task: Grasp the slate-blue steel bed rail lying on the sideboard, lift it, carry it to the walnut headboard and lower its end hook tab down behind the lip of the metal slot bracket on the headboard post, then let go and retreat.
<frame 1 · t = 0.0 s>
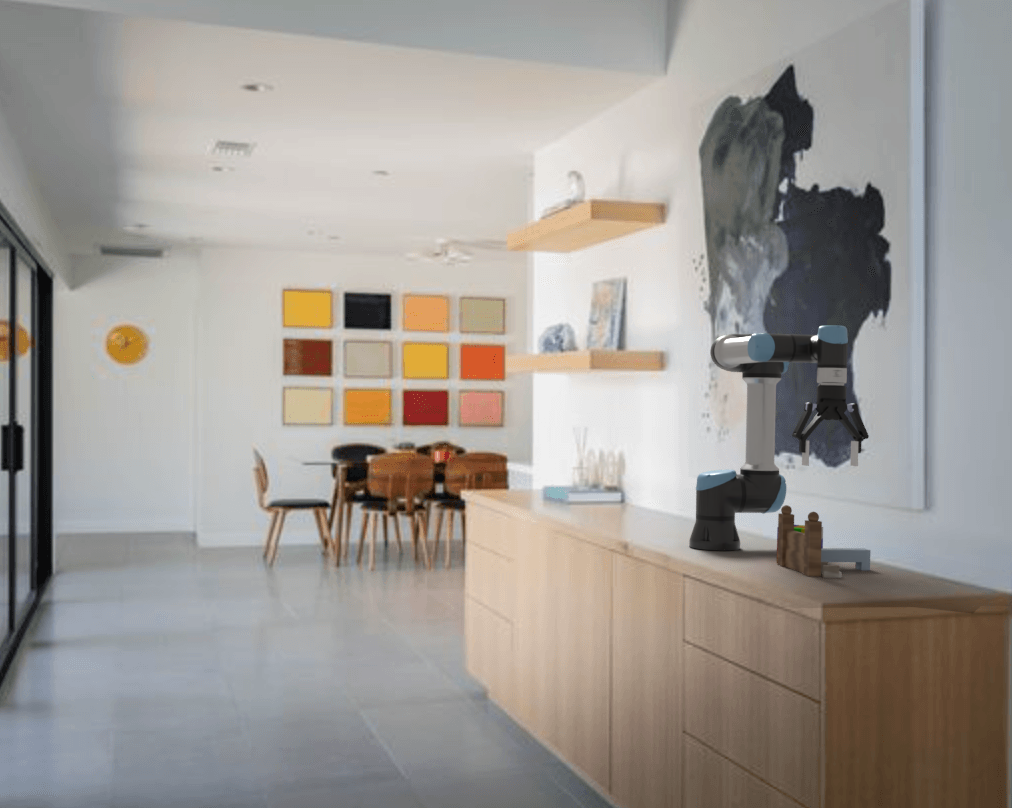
hand: (829, 465, 305), 28 cm above the sideboard top, fingers open, 13 cm apart
toy: (799, 563, 323), on the sideboard top
headboard: (825, 575, 300), on the sideboard top
rail: (838, 569, 312), on the sideboard top
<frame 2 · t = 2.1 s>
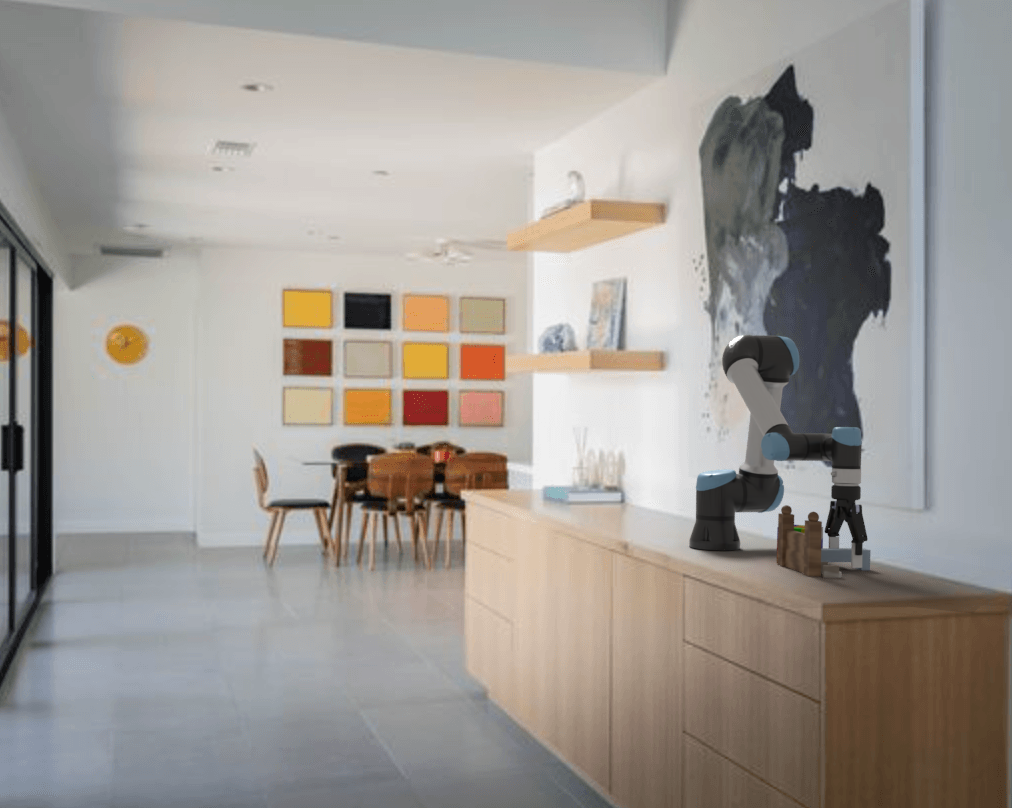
hand: (844, 564, 312), 1 cm above the sideboard top, fingers open, 13 cm apart
nothing on the sideboard top moved.
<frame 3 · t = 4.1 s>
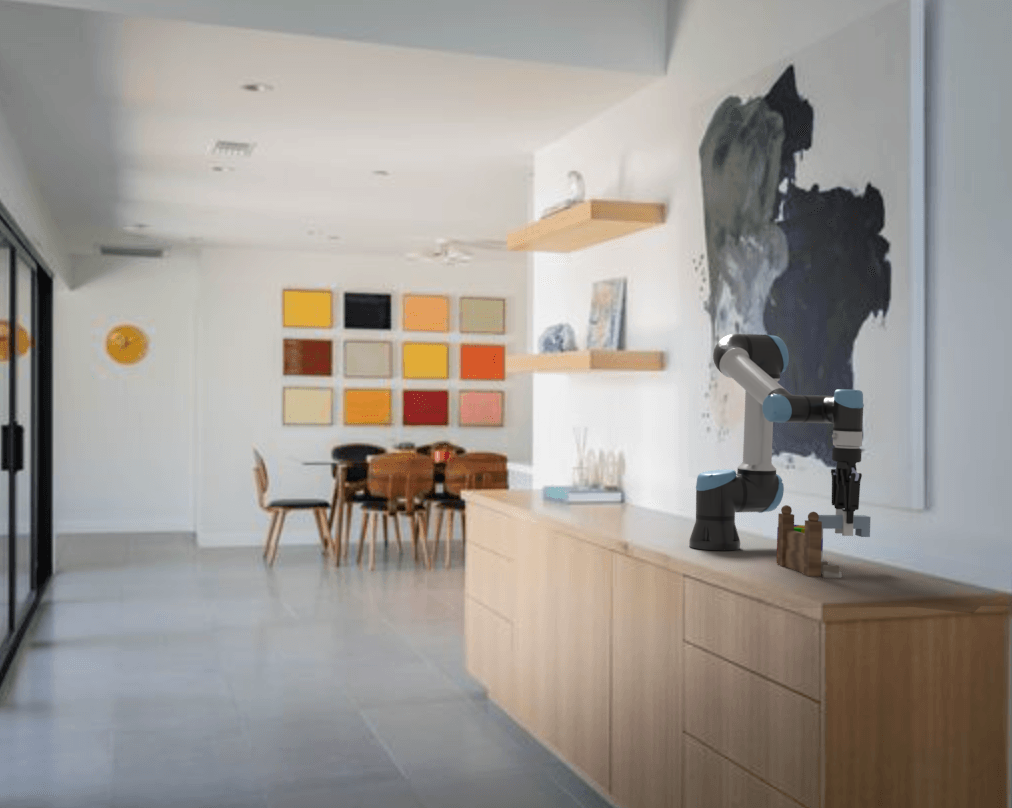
hand: (843, 534, 312), 9 cm above the sideboard top, fingers closed on rail, 4 cm apart
rail: (838, 535, 312), point 9 cm above the sideboard top, touching gripper
everything else where it was.
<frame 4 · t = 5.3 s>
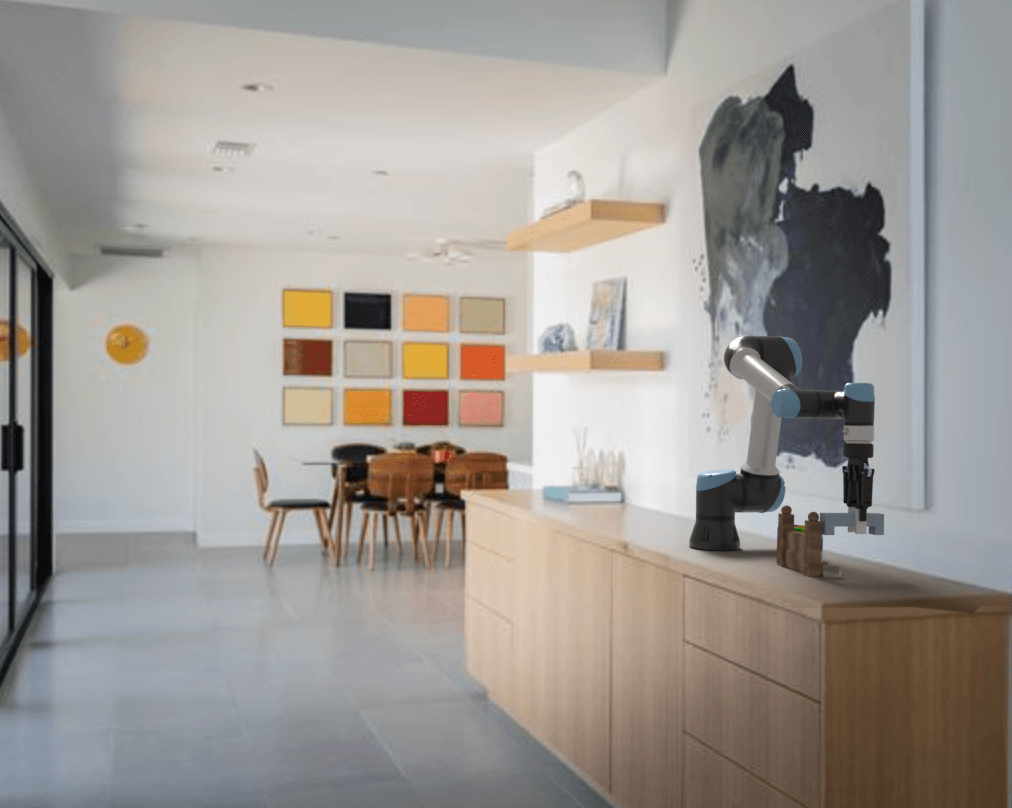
hand: (856, 532, 301), 11 cm above the sideboard top, fingers closed on rail, 4 cm apart
rail: (851, 534, 301), point 11 cm above the sideboard top, touching gripper
everything else where it was.
when the fingers open (0 cm above the sideboard top, at t = 6.9 s): rail stays where it is, on the sideboard top.
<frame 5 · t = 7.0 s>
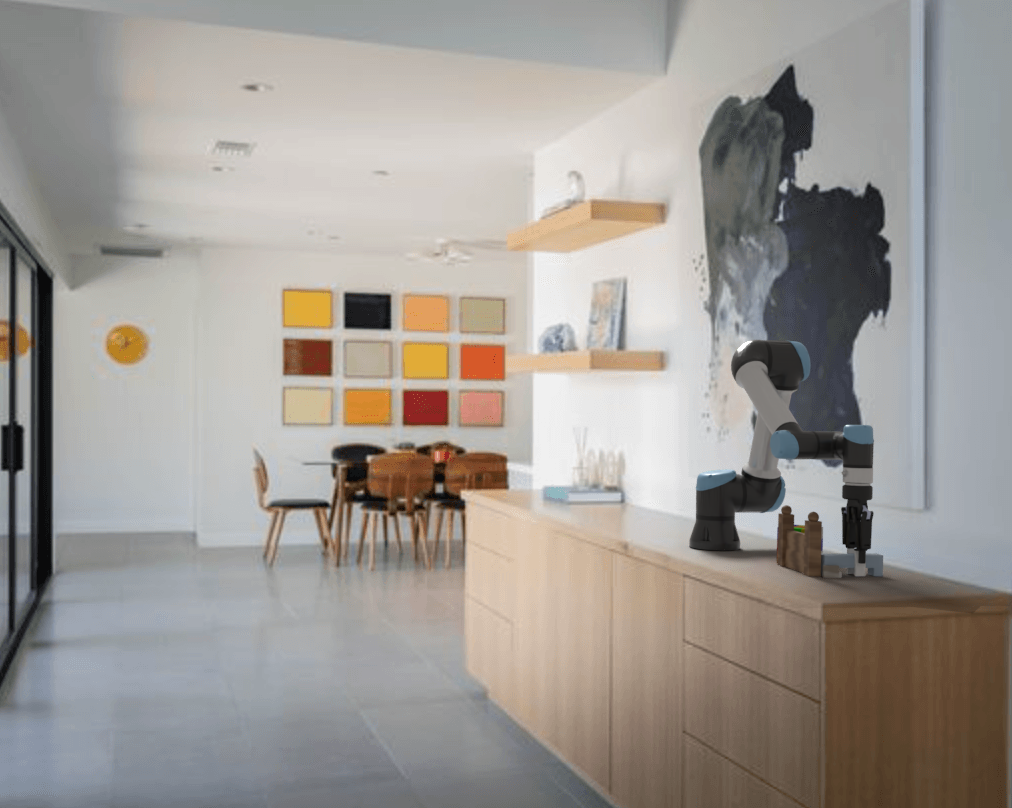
hand: (855, 574, 301), 0 cm above the sideboard top, fingers open, 4 cm apart
rail: (850, 575, 301), on the sideboard top, touching gripper
everything else where it was.
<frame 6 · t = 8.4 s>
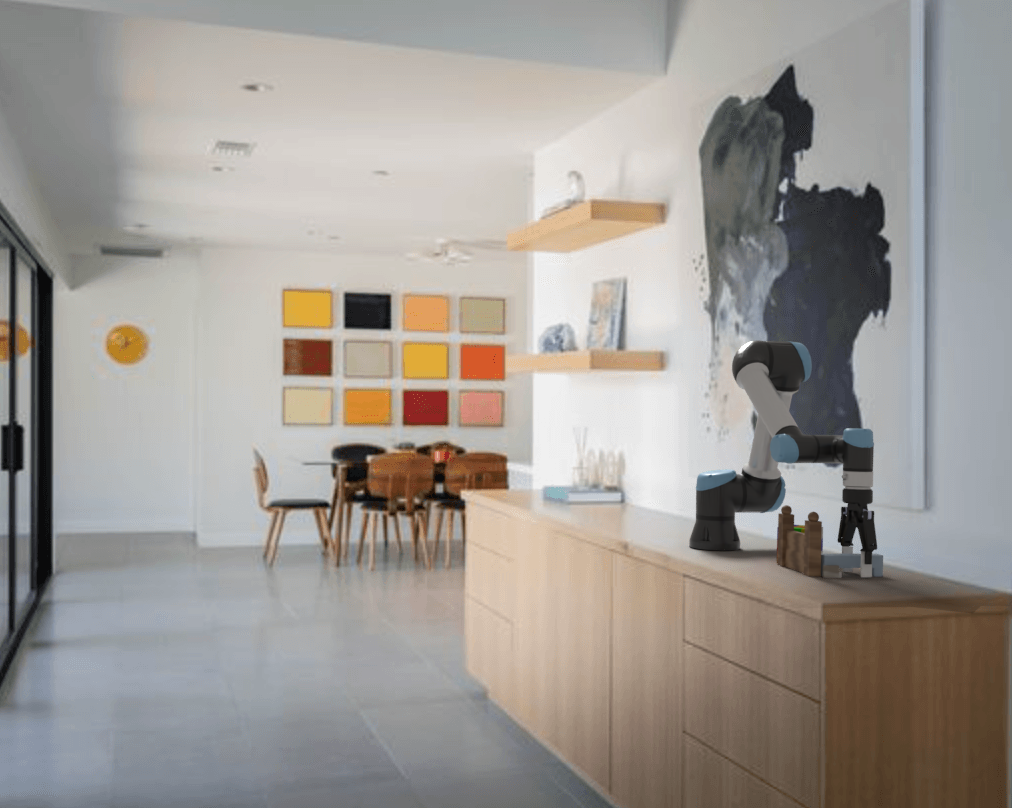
hand: (856, 574, 301), 0 cm above the sideboard top, fingers open, 10 cm apart
rail: (850, 575, 301), on the sideboard top
everything else where it was.
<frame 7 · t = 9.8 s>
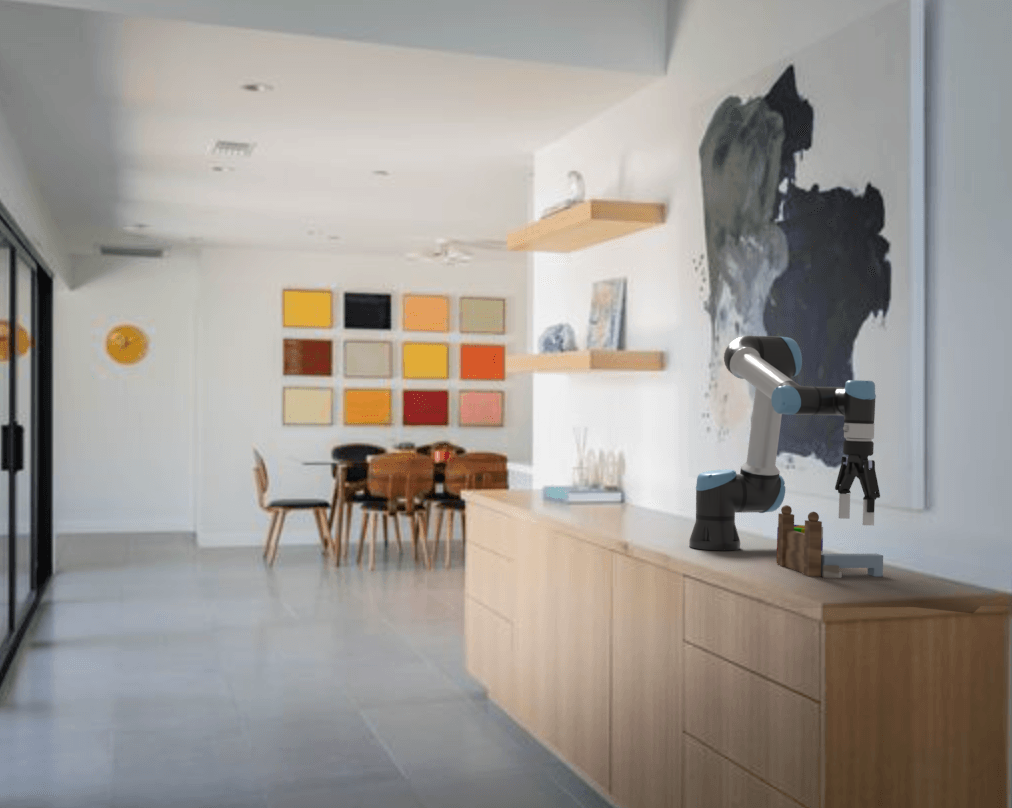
hand: (855, 521, 302), 14 cm above the sideboard top, fingers open, 13 cm apart
nothing on the sideboard top moved.
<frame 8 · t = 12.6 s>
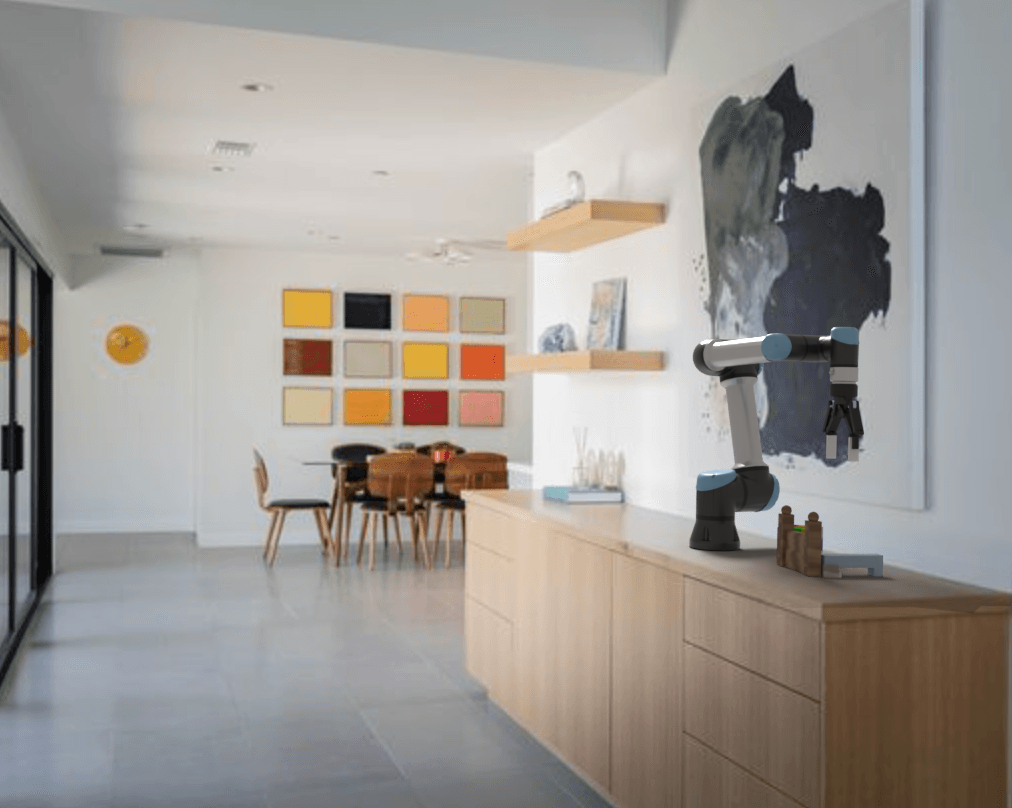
hand: (842, 460, 322), 29 cm above the sideboard top, fingers open, 13 cm apart
nothing on the sideboard top moved.
at the end: rail 0.2 cm from the target spot on the sideboard top beside the headboard, on the sideboard top; rail tilted 0°; the gripper is holding nothing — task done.
